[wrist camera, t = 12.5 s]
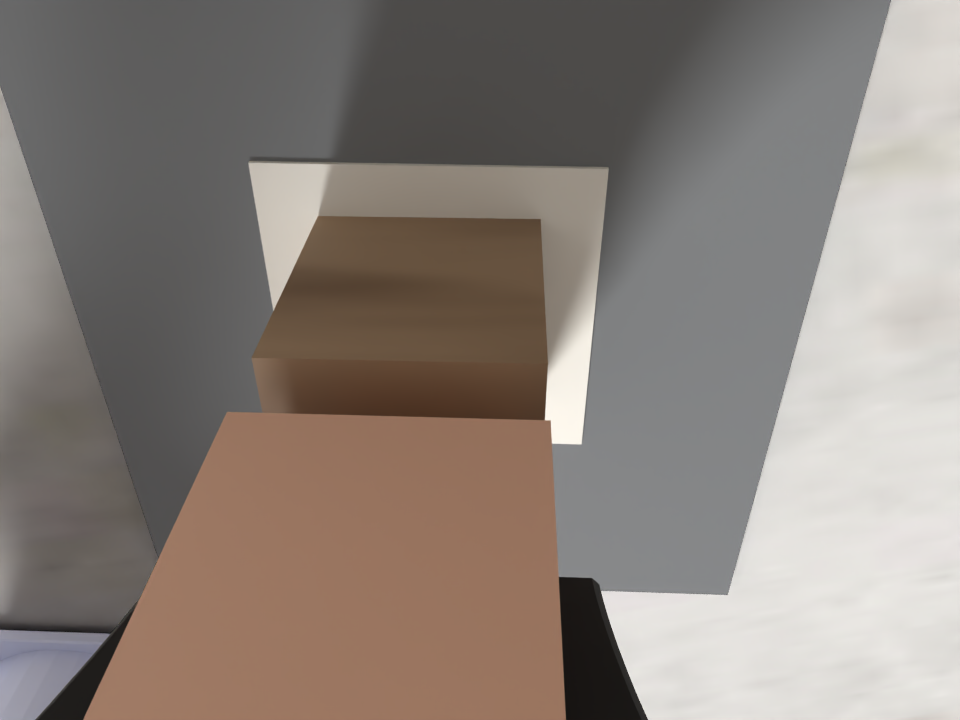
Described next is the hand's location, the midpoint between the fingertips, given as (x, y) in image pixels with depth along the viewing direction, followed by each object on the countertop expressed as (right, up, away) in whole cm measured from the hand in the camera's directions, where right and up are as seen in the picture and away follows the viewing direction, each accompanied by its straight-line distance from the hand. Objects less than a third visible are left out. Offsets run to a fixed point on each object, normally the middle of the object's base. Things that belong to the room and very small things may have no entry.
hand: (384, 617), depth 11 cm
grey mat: (0, +5, +7) cm, 8 cm away
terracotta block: (0, +1, +1) cm, 2 cm away
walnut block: (0, +5, +6) cm, 8 cm away
